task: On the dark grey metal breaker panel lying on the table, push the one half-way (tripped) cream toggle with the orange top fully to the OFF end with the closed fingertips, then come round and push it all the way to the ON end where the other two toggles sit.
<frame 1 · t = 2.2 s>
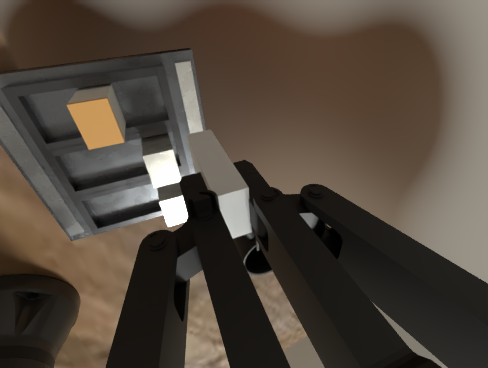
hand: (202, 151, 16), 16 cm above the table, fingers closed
mug: (241, 208, 42), on the table
tripped breaker: (100, 114, 23), point 4 cm above the table, slide at 0.0 cm
panel: (124, 151, 30), on the table
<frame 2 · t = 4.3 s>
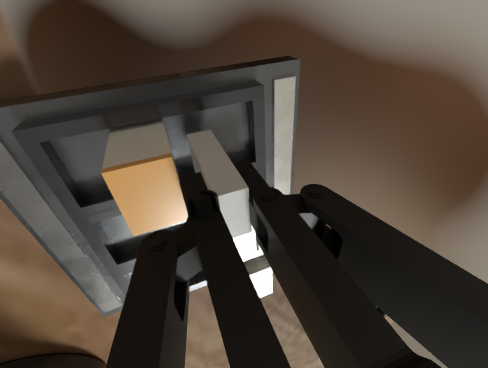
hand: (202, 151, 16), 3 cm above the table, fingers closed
tripped breaker: (148, 171, 14), point 4 cm above the table, slide at -1.2 cm, touching gripper
panel: (181, 200, 21), on the table
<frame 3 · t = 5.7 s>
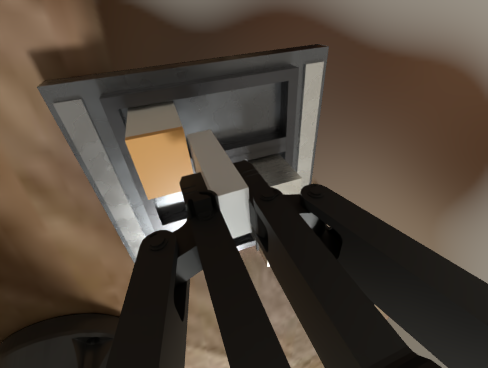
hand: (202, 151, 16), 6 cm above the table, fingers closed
tripped breaker: (161, 146, 16), point 4 cm above the table, slide at -4.0 cm
panel: (216, 172, 24), on the table
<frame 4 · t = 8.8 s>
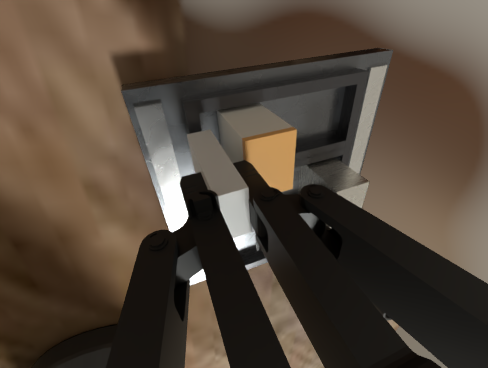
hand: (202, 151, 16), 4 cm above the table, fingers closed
tripped breaker: (253, 147, 16), point 4 cm above the table, slide at -3.1 cm, touching gripper
panel: (268, 177, 24), on the table
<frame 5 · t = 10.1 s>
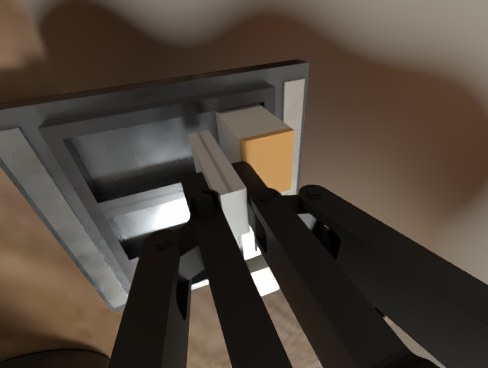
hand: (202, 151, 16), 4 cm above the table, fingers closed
tripped breaker: (251, 148, 16), point 4 cm above the table, slide at 4.3 cm, touching gripper
panel: (191, 198, 22), on the table
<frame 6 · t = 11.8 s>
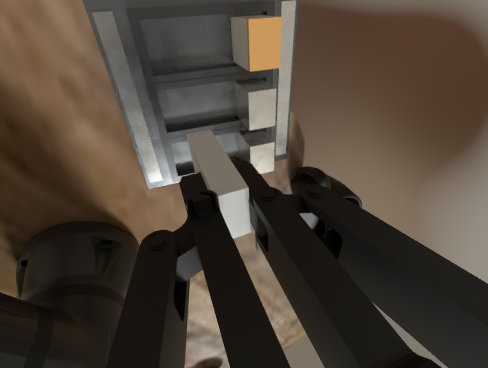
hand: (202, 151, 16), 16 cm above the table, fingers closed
mug: (301, 173, 42), on the table
tripped breaker: (254, 41, 24), point 4 cm above the table, slide at 4.0 cm
panel: (211, 97, 30), on the table
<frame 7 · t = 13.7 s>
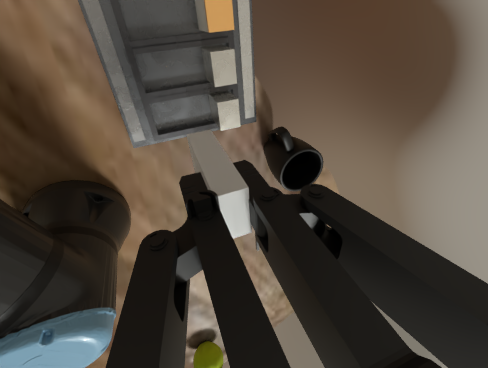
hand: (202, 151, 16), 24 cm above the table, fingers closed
mug: (273, 139, 47), on the table
tripped breaker: (213, 9, 29), point 4 cm above the table, slide at 4.0 cm
fruit: (204, 342, 82), on the table
panel: (184, 64, 35), on the table
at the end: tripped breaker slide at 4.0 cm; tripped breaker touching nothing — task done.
